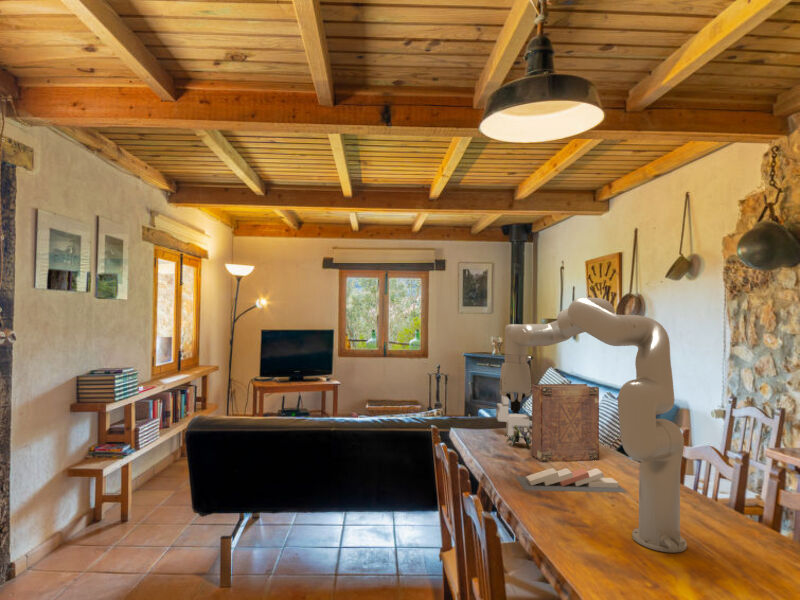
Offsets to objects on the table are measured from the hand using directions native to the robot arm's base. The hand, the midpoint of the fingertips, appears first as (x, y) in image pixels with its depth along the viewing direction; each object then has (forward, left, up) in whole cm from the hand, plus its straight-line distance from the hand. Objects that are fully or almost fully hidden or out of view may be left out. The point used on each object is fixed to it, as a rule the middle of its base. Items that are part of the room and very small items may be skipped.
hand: (515, 412), depth 171 cm
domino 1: (0, -5, -23) cm, 24 cm away
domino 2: (0, -10, -23) cm, 25 cm away
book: (+34, -29, -25) cm, 51 cm away
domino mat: (0, -19, -25) cm, 31 cm away
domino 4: (0, -20, -23) cm, 31 cm away
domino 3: (0, -15, -23) cm, 28 cm away
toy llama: (+71, -17, -25) cm, 77 cm away
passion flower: (+51, -14, -25) cm, 58 cm away
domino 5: (0, -25, -23) cm, 34 cm away
